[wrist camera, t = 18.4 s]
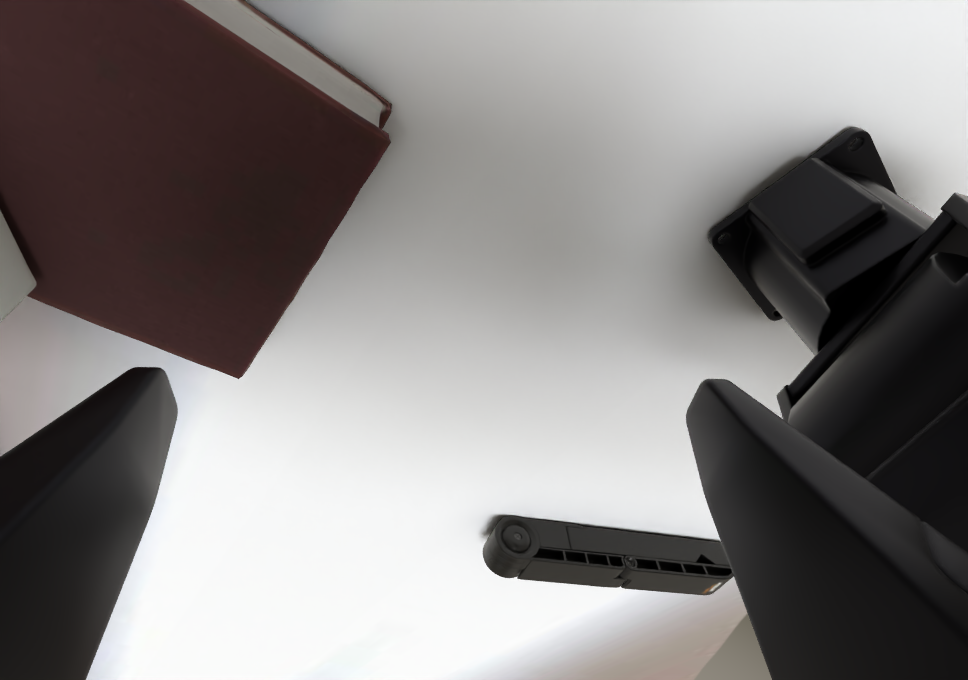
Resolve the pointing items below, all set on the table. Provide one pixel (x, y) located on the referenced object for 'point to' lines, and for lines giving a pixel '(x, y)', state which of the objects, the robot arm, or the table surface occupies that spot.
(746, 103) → the table surface
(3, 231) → the small box
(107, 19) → the book
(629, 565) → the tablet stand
